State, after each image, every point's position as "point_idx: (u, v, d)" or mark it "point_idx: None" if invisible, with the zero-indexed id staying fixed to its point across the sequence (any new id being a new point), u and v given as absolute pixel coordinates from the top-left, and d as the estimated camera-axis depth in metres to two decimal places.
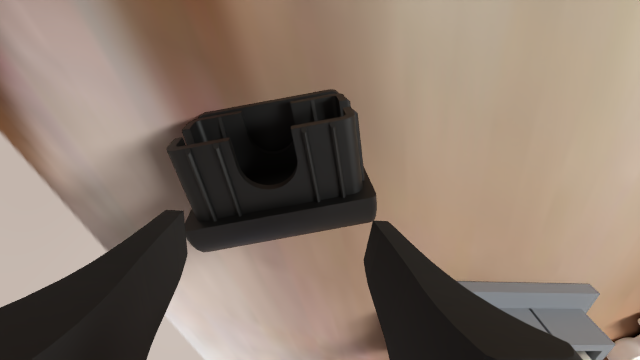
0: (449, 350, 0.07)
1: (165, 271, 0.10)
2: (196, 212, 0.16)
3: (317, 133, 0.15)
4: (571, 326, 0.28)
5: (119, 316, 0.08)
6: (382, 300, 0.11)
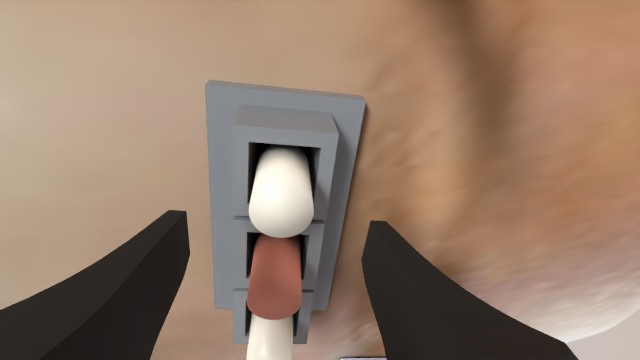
0: (445, 350, 0.07)
1: (168, 271, 0.10)
2: None
3: None
4: None
5: (123, 316, 0.08)
6: (379, 300, 0.11)
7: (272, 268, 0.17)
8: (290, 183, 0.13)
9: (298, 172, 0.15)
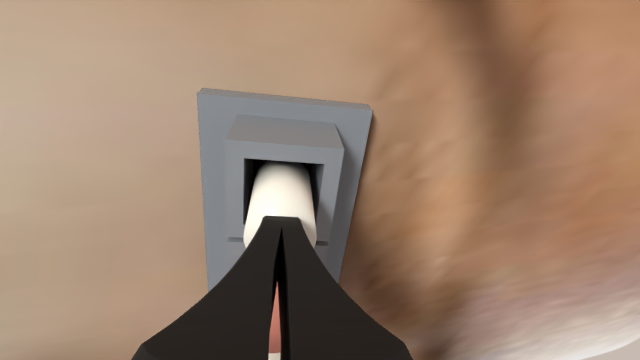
0: (288, 351, 0.07)
1: (276, 274, 0.11)
2: None
3: None
4: None
5: None
6: (280, 298, 0.11)
7: None
8: (290, 207, 0.12)
9: (299, 192, 0.13)
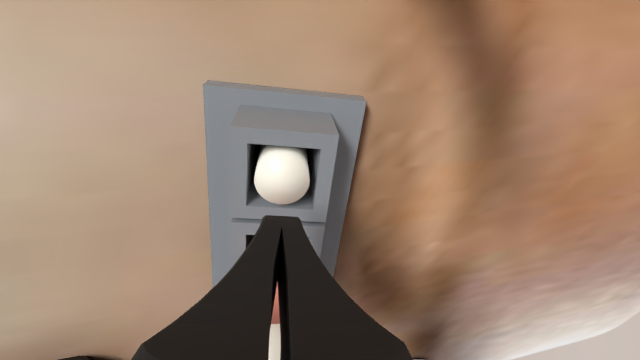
0: (288, 351, 0.07)
1: (276, 274, 0.11)
2: None
3: None
4: None
5: None
6: (281, 298, 0.11)
7: None
8: (290, 156, 0.16)
9: (296, 148, 0.17)
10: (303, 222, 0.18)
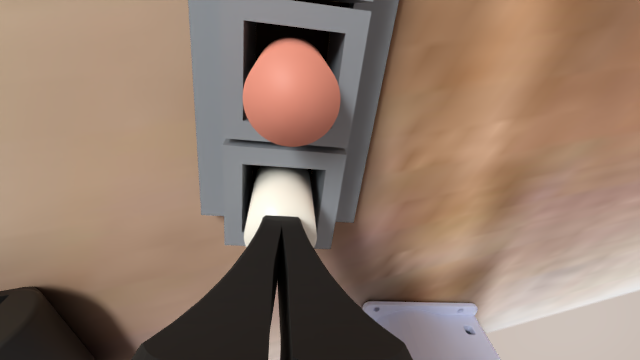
0: (288, 350, 0.07)
1: (276, 274, 0.11)
2: None
3: None
4: None
5: None
6: (280, 298, 0.11)
7: (288, 46, 0.09)
8: None
9: None
10: None
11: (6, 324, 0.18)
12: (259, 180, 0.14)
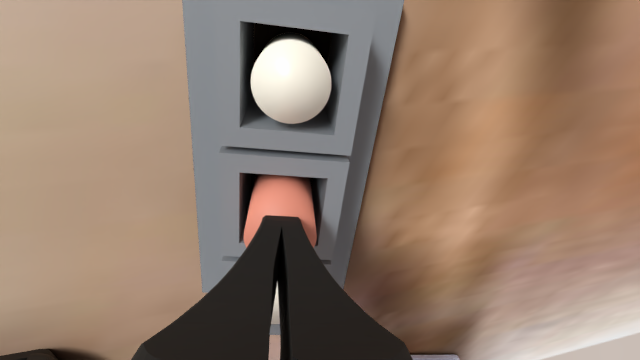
0: (288, 351, 0.07)
1: (276, 274, 0.11)
2: None
3: None
4: None
5: None
6: (280, 298, 0.11)
7: (277, 195, 0.13)
8: (303, 43, 0.11)
9: (311, 44, 0.12)
10: (319, 157, 0.13)
11: None
12: None
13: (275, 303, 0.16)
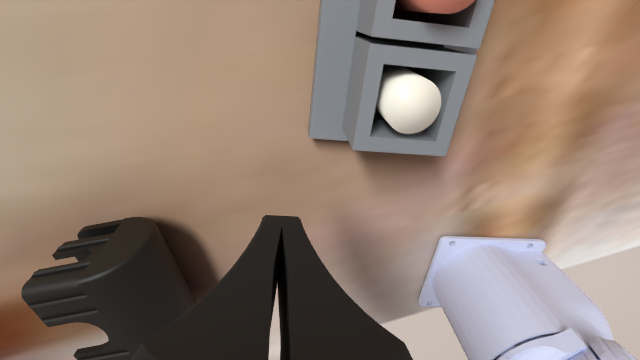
0: (288, 351, 0.07)
1: (276, 274, 0.11)
2: None
3: (43, 313, 0.19)
4: None
5: None
6: (280, 298, 0.11)
7: None
8: None
9: None
10: None
11: (132, 240, 0.20)
12: None
13: (414, 103, 0.16)
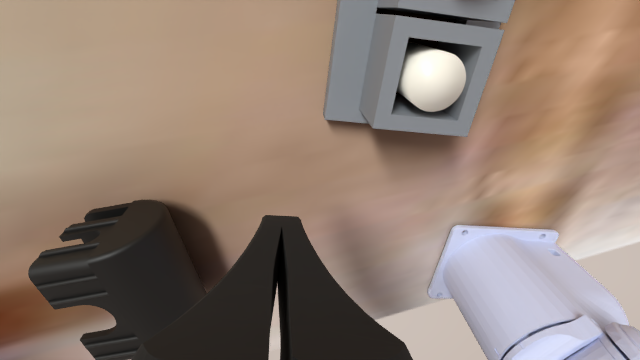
0: (288, 351, 0.07)
1: (276, 274, 0.11)
2: None
3: (51, 294, 0.18)
4: None
5: None
6: (280, 298, 0.11)
7: None
8: None
9: None
10: None
11: (142, 221, 0.19)
12: None
13: (438, 80, 0.15)
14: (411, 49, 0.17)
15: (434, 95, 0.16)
